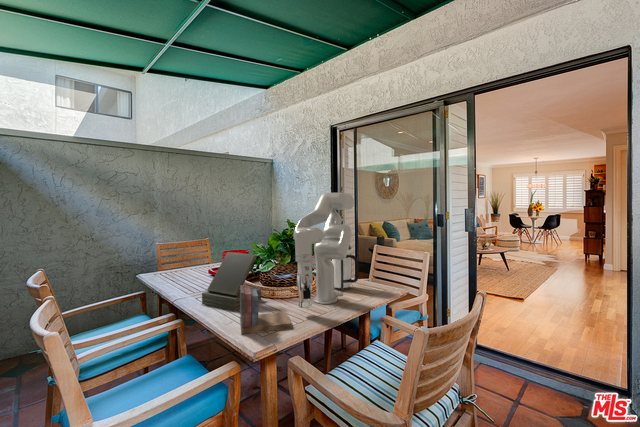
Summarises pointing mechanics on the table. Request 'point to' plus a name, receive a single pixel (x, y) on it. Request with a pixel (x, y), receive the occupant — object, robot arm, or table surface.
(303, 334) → the table surface
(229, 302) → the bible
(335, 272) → the coffee press
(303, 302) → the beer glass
